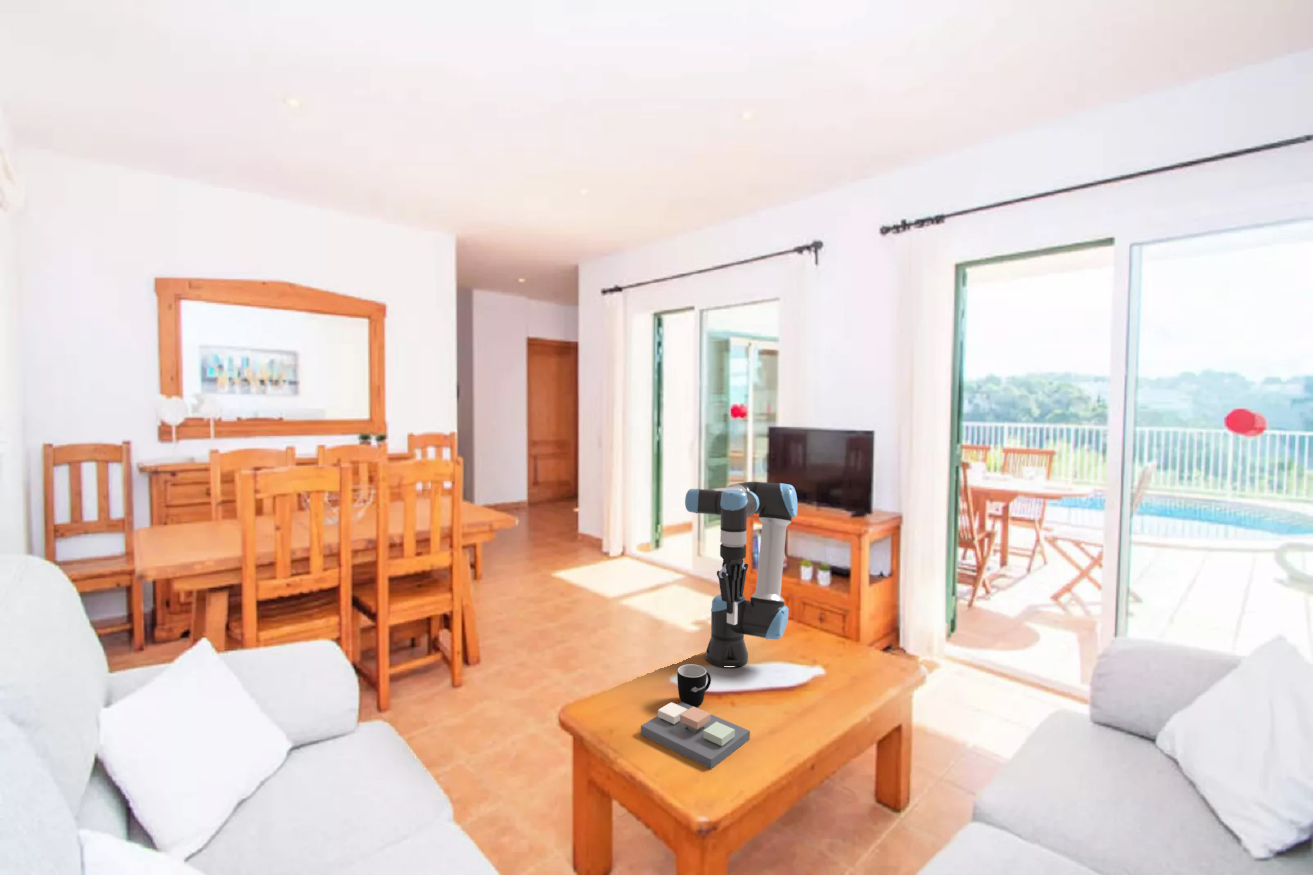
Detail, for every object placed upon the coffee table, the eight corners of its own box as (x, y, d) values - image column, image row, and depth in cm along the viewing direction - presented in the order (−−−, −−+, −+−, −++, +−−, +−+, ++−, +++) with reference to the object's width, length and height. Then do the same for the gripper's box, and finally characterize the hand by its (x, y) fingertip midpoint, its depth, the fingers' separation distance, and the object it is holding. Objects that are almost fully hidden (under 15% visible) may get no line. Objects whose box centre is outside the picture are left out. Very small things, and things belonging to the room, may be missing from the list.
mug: (689, 713, 182) (689, 679, 181) (671, 700, 189) (671, 668, 188) (719, 701, 189) (720, 669, 188) (700, 690, 196) (701, 659, 195)
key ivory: (671, 717, 178) (671, 702, 178) (687, 724, 174) (687, 709, 174) (657, 725, 174) (657, 710, 173) (674, 733, 170) (674, 717, 169)
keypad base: (681, 709, 183) (681, 701, 183) (749, 739, 168) (749, 730, 168) (640, 734, 170) (641, 725, 170) (711, 769, 154) (711, 759, 154)
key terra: (693, 721, 173) (693, 706, 173) (710, 729, 169) (710, 713, 169) (679, 730, 168) (680, 714, 168) (697, 738, 164) (697, 722, 164)
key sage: (716, 737, 168) (716, 721, 167) (734, 745, 164) (734, 729, 164) (703, 746, 163) (703, 730, 163) (721, 755, 159) (722, 738, 159)
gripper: (735, 537, 184) (734, 614, 186) (709, 545, 175) (708, 626, 176) (756, 542, 179) (755, 620, 181) (730, 550, 170) (729, 633, 171)
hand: (732, 623), depth 179 cm, fingers closed
